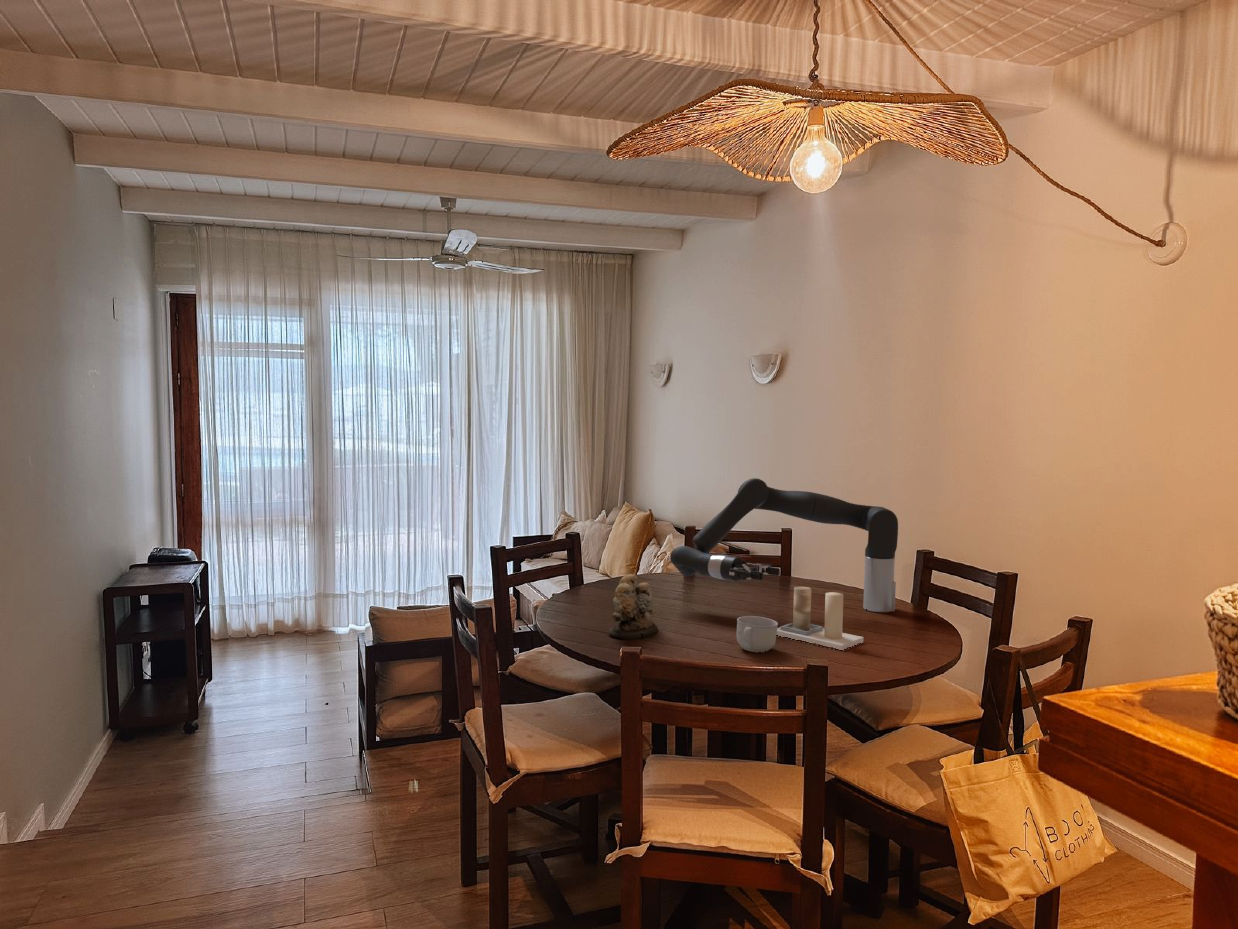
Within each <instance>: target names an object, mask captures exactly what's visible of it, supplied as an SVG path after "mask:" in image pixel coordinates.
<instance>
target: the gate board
mask: <svg viewBox="0 0 1238 929" xmlns="http://www.w3.org/2000/svg"><path fill="white" fill-rule="evenodd" d="M824 603H825V604H824V626H823V625H818V624H812V623H810V630H808V631H803V630H799V629H794V628H793V622H790V623H787V624H784V625H781V626H780V627H777V635H778V636H777V637H779V636H781V637H780V638H783V637H788V638H791V639H790V640H792V639H795V640H794V641H796V640H802V641H806V642H809V643H816V644H820V645H823V646H827V647H833V648H836V649H839V650H843V651H845V650H844V649H846V648H847V647H851V648H853V647H855V646H854V645H856V646H857V644H858V643H861V644H863V643H864V636H859V635H856V634H855V635H854V634H851V633H845V632H843V622H844V619H843V618H844V617H843V616H844V614H843V613H844V594H843V593H842V592H837V591H836V592H834V591H833V592H832V591H831V592H830V591H829V592H825V599H824ZM788 638H787V639H788ZM809 643H808V644H809ZM858 645H859V644H858ZM852 646H853V647H852ZM839 650H838V651H839ZM846 650H847V649H846Z"/></svg>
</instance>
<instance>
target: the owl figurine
mask: <svg viewBox="0 0 1238 929" xmlns="http://www.w3.org/2000/svg"><path fill="white" fill-rule="evenodd" d="M612 602H613V606H614V612H613V613H610V616H611V617H612V618H613V620H614V622H617V623H616V624H614V625H613V626H612V627H611V628H610V629H609V630H608V635H609V636H610V637H611V638H612V637H613V638H618V639H623V640H638V639H642V638H644V637H646V638H648V637H651V635H652V636H654V635H655V634H656V633H657V632H658V629H659V627H658V625H656V624H655V622H654V617H655V614H656V609H655V608H653V606H654V600H653V592H652V588H651V585H650V584H649V582H640V583H638V576H636V575H635V574H629V573H627V574H625V575H623V576H622V577H621V579H620V580H619V583H618V585H617V587H616V588H615V591H614V598H613V599H612ZM653 634H654V635H653Z"/></svg>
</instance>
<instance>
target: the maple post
mask: <svg viewBox="0 0 1238 929" xmlns="http://www.w3.org/2000/svg"><path fill="white" fill-rule="evenodd" d="M811 607H812V588H810V587H809V586H794V587H793V612H792V617H793V618H792V623H793V628H794V629H799V630H803V631H808V630H810V624H811V616H812V615H811V614H812V613H811V612H812V610H811V609H812V608H811Z"/></svg>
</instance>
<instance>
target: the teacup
mask: <svg viewBox="0 0 1238 929" xmlns="http://www.w3.org/2000/svg"><path fill="white" fill-rule="evenodd" d="M736 623H737V624H736V641H737V643H738V644H739V646H741V647H742V649H743V650H744V651H748V652H751V653H759V652H761V653H766V652H768V651H769V650H771V649H773V648H774V647H775V644H776V642H777V636H776V635H777V628H778V626H779V623H778V622H777V621H776V620H774V619H772V618H768V617H763V616H757V615H756V616H755V615H743V616H740V617H737V618H736ZM765 651H766V652H765Z"/></svg>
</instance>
